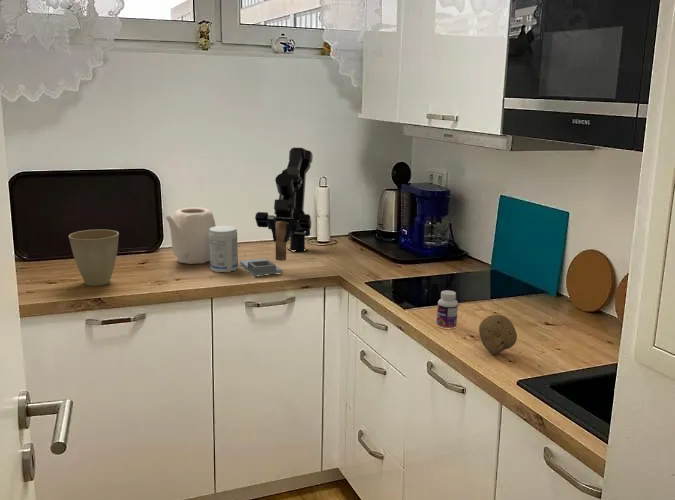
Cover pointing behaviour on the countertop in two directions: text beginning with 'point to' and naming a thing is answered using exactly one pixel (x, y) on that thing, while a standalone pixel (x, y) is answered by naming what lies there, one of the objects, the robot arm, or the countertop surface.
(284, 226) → the stool leg
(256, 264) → the seat board
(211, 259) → the supplement tub
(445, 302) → the pill bottle
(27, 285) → the countertop surface
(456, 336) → the countertop surface
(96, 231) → the plant pot
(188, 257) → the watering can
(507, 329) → the natural sponge
